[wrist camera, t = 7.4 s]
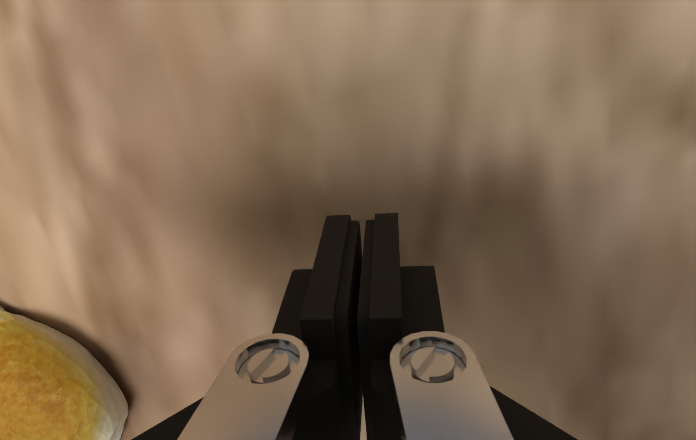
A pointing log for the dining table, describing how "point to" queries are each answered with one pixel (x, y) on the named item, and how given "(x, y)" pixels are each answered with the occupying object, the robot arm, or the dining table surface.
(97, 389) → the bread roll
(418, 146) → the dining table surface
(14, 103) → the dining table surface
